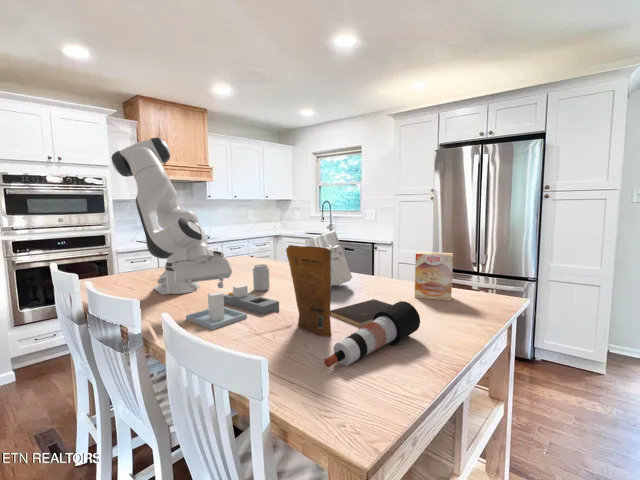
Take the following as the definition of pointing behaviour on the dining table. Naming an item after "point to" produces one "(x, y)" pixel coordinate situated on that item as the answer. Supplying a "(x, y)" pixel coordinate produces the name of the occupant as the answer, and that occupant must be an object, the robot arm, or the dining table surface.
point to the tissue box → (333, 256)
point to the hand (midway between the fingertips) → (208, 289)
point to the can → (261, 277)
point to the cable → (377, 333)
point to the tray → (204, 320)
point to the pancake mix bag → (312, 287)
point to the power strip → (250, 301)
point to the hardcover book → (360, 312)
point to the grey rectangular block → (216, 306)
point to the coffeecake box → (433, 275)
